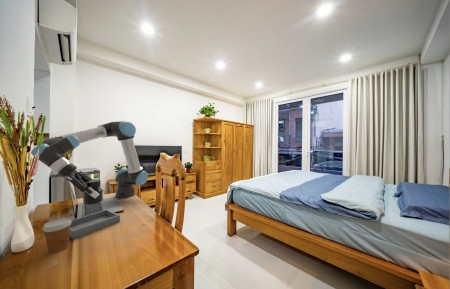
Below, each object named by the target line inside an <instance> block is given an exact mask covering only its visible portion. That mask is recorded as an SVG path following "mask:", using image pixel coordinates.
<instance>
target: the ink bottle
mask: <svg viewBox="0 0 450 289" xmlns="http://www.w3.org/2000/svg"><path fill="white" fill-rule="evenodd" d="M101 183H102V182H101V180H100V179H93V180H90V181H86V182H85V184H86V185H87V186H88V188H89V187H90V188H92V189H93V190H94V191H96V192H97V193H99V194H100V195H99V196H98V197H96V198H94V197H92V196H91V195H89V194H88V193H87V192H85V191H84V192H82V198H83V199H82V201H83V202H82V203H83V204H84V205H95V204H98V203H99V204H100V203H102V201H104V191H103V189H104V188H103V187H101ZM100 187H101V188H100ZM102 188H103V189H102Z"/></svg>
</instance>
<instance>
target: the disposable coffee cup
mask: <svg viewBox="0 0 450 289" xmlns="http://www.w3.org/2000/svg"><path fill="white" fill-rule="evenodd" d="M71 220H72V219H71V218H70V217H61V218H56V219H53V220H50V221H48V222H46V223H44V224H43V227H42V230H43V233H44V237H45V242H46V245H47V250H48V253H52V254H53V253H54V254H55V253H57V252H61V251H63V250H65V249H66V248H68V246H69V239H70V237H69V233H70V225H71V223H72V221H71Z"/></svg>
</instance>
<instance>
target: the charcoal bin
mask: <svg viewBox="0 0 450 289" xmlns="http://www.w3.org/2000/svg"><path fill="white" fill-rule="evenodd" d="M70 220H71V221H72V223H71V225H70V233H69V239H71V240H76V239H78V238H81V237H85V236H87V235H89V234H91V233H94V232H97V231H99V230H102V229H104V228H107V227H110V226H112V225H115V224H117V223H120V222H121V215H120V214H118V213H116V212H114V211H112V210H110V209H104V210H101V211H97V212H94V213H90V214H87V215H84V216H82V217H78V218H74V219H70Z"/></svg>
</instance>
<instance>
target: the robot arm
mask: <svg viewBox="0 0 450 289" xmlns="http://www.w3.org/2000/svg"><path fill="white" fill-rule="evenodd" d="M136 131H137V129H136V126H135V125H134V123H132V122H131V121H126V120H120V121H111V122H107V123H104V124H100V125H97V126H96V127H93V128H89V129H85V130H80V131H75V132H72V133H69V134H67V133H66V134H63V135H59V136H55V137H51V138H50V137H49V138H43V139H42V140H43V143H42V144H41V146H40V147H39V159H37V160H38V161H39V162H40V163H42V164H44V165H45V166H47V167H48V168H50V169H51V171H52V172H53V171H54V172H55V173H57V174H58V175H59V176H61V178H66V180H67V181H69V182H70V183H71V184H72V185H73V186H74V187H75V188H77V189H78V190H79V191H80V192H81V193H83V192H84V191H85V192H87V193H88V194H89V195H91V196H92V197H94V198H96V197H98V196H99V195H100V194H99V193H97V192H96V191H94V190H93V189H92V188H90V187H89V188H88V186H87V185H86V184H85V182H86V181H90V180H94V179H93V178H92V177H90V176H88V175H87V174H85V173H84V172H83V171H82V170H80V171H77V169H78V168H77V166H76V165H75V164H74V163H71V161H70V160H68V159H67V158H65V157H64V155H66V154H67V153H69V152H71V151H73V150H74V149H76V148H77V147H79V146H80V145H81V144H82V143H86V142H89V141H93V140H96V139H100V138H103V139H105V138H109V137H116V138H117V141H119V142H120V144H121V147H122V151H123V154H124V157H125V161H126V164H127V167H128V168H123V169H118V171H117V172H116V180H117V182H116V184H117V188H116V189H115V190H116V191H115V193H114V196H115V197H114V198H117V199H126V198H131V197H133V196H135V194H136V190H135V188H134V185H136V186H143V185H144V184H145V183H147V181H148V176H149V174H148V171H146V170H144V168H143V166H141V164H140V160H139V156H138V153H137V150H136V146H135V142H134V138H135V134H136ZM37 151H38V145H37V146H35V147H33V148H32V150H31V151H30V154H31V155H32V157H34V156H35V155H36V153H37ZM100 188H102V189H103V192H104V191H105V189H104V188H103V187H102V186H100Z"/></svg>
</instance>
